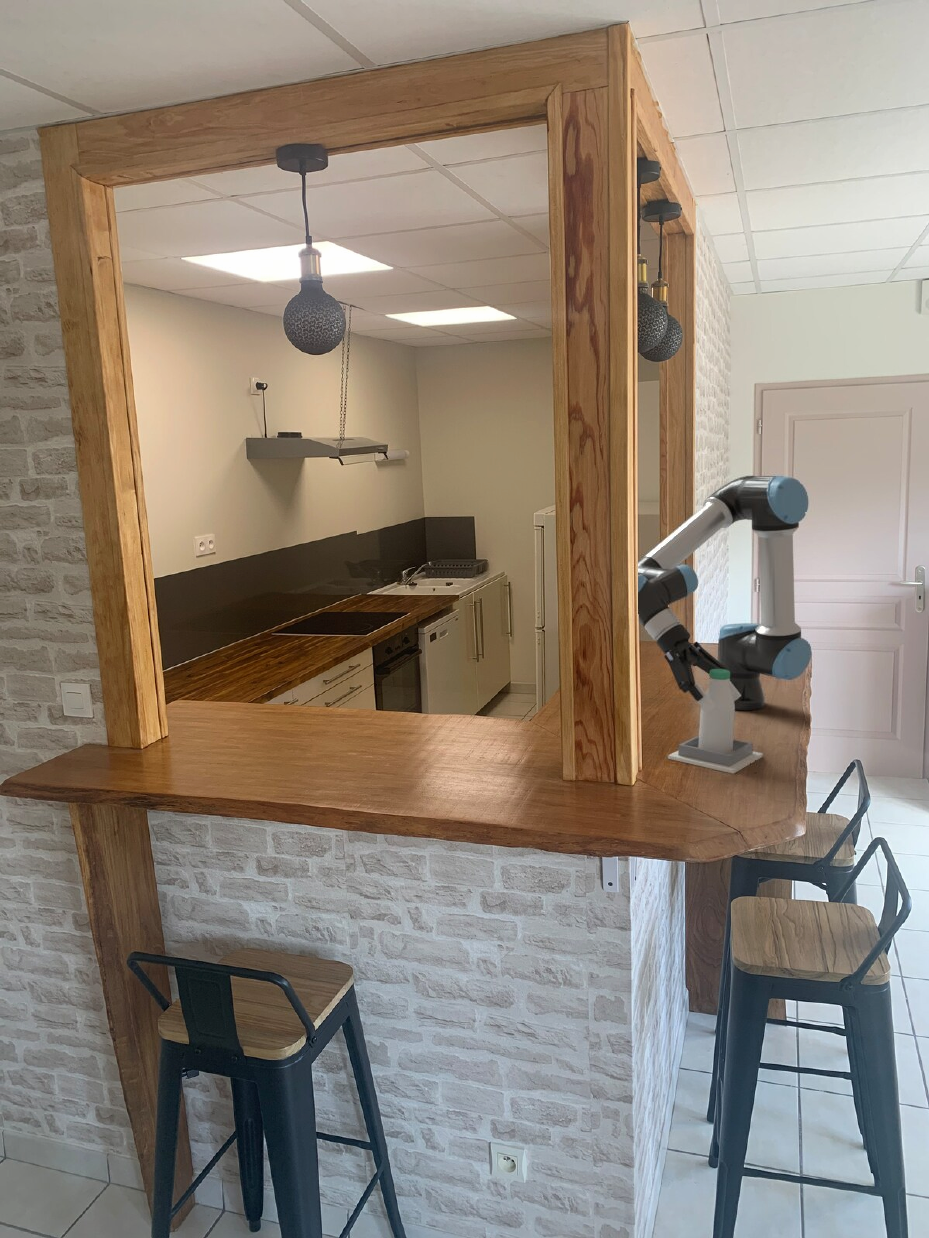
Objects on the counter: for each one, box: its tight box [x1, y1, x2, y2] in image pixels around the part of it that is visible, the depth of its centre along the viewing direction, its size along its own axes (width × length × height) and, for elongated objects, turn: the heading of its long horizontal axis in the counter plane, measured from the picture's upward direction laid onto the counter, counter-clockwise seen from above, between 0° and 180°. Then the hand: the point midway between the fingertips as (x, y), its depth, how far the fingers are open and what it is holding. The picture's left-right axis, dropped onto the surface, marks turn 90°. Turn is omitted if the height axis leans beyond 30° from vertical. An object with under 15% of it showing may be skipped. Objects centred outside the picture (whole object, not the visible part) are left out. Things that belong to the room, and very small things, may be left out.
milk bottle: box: [698, 669, 736, 754], centre depth 215 cm, size 8×8×20 cm
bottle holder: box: [667, 734, 764, 775], centre depth 216 cm, size 16×16×3 cm
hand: (724, 704), depth 213 cm, fingers open, 13 cm apart
